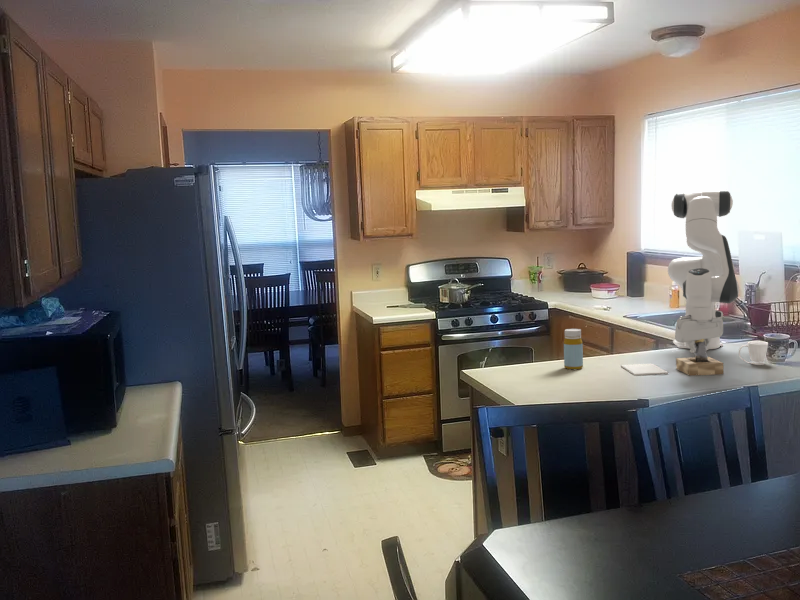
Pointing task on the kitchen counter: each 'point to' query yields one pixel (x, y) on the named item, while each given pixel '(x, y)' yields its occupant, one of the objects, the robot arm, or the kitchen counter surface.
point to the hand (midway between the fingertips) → (699, 351)
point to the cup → (756, 351)
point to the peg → (700, 351)
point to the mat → (644, 369)
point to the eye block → (699, 366)
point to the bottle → (573, 349)
